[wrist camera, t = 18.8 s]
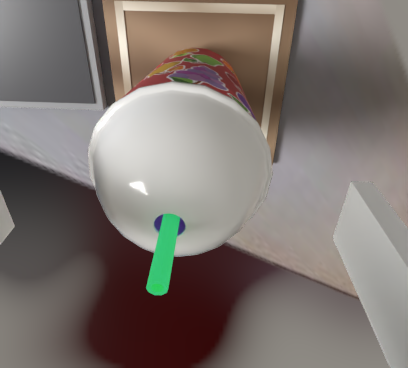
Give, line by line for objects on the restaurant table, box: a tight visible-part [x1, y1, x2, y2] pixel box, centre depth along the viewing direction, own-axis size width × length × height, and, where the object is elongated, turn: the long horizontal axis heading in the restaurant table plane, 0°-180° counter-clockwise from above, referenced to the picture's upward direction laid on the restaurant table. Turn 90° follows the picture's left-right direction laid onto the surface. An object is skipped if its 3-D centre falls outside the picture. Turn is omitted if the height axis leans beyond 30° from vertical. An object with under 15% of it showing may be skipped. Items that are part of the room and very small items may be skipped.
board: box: [102, 0, 298, 165], centre depth 26 cm, size 14×14×1 cm
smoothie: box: [88, 47, 273, 295], centre depth 18 cm, size 8×8×20 cm
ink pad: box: [0, 0, 107, 110], centre depth 25 cm, size 10×10×1 cm
